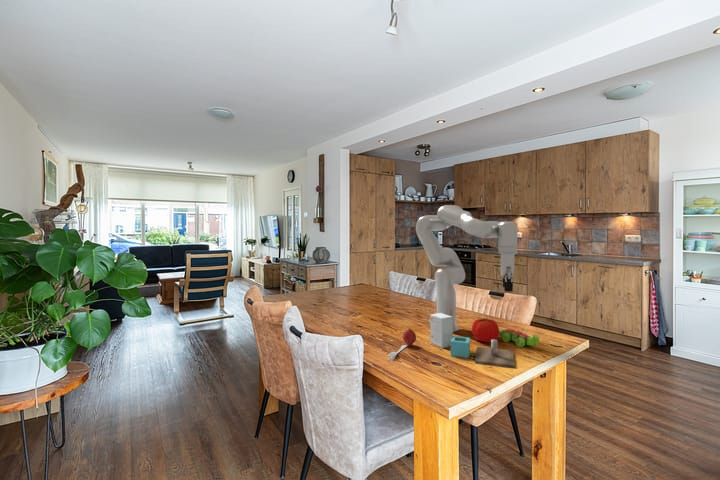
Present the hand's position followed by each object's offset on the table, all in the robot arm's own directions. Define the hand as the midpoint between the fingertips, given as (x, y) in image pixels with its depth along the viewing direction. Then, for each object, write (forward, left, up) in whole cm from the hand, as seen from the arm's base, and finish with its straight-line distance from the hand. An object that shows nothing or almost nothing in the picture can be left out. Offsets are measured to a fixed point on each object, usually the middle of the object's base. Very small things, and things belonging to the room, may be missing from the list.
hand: (507, 289), depth 150 cm
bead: (-18, -17, -25) cm, 35 cm away
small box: (-27, -8, -25) cm, 38 cm away
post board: (-5, -17, -25) cm, 31 cm away
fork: (-43, -24, -25) cm, 55 cm away
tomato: (-9, +3, -25) cm, 27 cm away
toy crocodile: (+4, +5, -25) cm, 26 cm away
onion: (-40, -14, -25) cm, 50 cm away
